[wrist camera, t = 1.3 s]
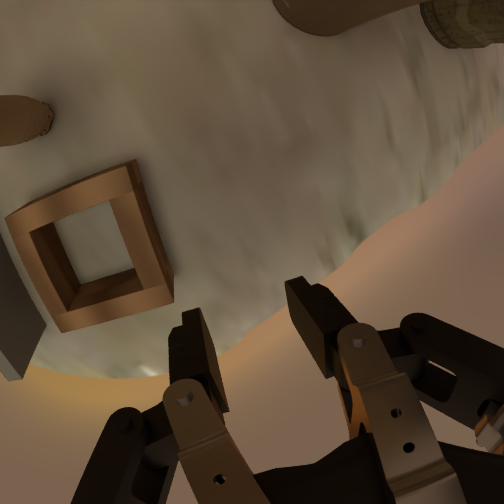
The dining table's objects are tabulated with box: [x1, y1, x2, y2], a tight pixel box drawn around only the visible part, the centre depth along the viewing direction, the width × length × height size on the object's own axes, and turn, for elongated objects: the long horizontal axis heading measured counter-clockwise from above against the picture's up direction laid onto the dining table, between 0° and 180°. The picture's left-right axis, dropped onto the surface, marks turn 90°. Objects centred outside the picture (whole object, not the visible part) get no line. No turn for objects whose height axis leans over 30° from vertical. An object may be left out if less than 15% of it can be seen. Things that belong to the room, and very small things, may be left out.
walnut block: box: [5, 159, 174, 333], centre depth 23 cm, size 12×12×5 cm
